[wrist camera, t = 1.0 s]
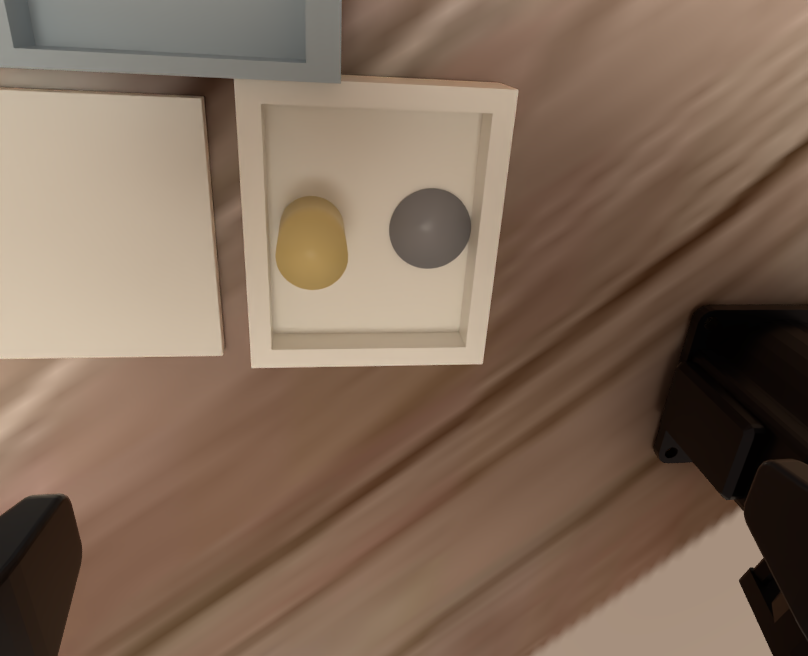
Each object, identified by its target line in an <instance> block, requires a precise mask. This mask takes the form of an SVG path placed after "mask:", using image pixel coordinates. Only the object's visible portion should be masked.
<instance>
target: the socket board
mask: <svg viewBox="0 0 808 656" xmlns="http://www.w3.org/2000/svg"><path fill="white" fill-rule="evenodd" d="M341 21H342V0H0V67H3V68H24V69H45V70H66V71H87V72H108V73H128V74H149V75H170V76H191V77H212V78H233V79H254V80H275V81H296V82H317V83H338V84H341Z"/></svg>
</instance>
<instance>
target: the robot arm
mask: <svg viewBox="0 0 808 656" xmlns="http://www.w3.org/2000/svg"><path fill="white" fill-rule="evenodd" d="M710 317H712V319H711V321H710V322H709V323H707V324H705V322H706V320H707V319H708V318H710ZM669 448H671V449H670V450H668V449H669ZM667 450H668V451H667ZM654 452H655V454H656V455H657V457H658V458H659V459H660V461H662V462H663V463H685V462H693V463H694V464H695V465H696V466H697V467H698V469H699V470H700V471H701V472H702V473H703V474H704V476H705V477H706V478H707V479H708V480H709V482H710V483H711V484H712V485H713V486H714V487H715V489H716V490H717V491H718V492H719V493H720V495H721V496H722V497H723V498H724V499H726V500H734V501H735V502H736V503H737V504H738V505H739V506H740V507H741V509H742V510H743V511H744V517H745V520H746V523H747V525H748V527H749V530H750V532H751V534H752V536H753V537H754V539H755V541H756V543H757V545H758V547H759V549H760V551H761V553H762V555H763V557H764V558H763V559H762V560H761V561H760V563H759V564H758V565H757V566H756V567H755V568H749V570H748V571H747V572H746V573H745V574H744V575H743V576H742V577H741V578H740V580H739V582H740V584H741V587H742V589H743V591H744V593H745V595H746V598H747V600H748V602H749V604H750V606H751V608H752V610H753V612H754V615H755V617H756V619H757V622H758V624H759V626H760V628H761V630H762V632H763V635H764V637H765V639H766V641H767V643H768V646H769V648H770V650H771V652H772V654H773V656H808V305H707V306H703V307H701V308H699V309H698V310H697V311H696V312H695V313H694V315H693V317H692V319H691V322H690V326H689V329H688V333H687V336H686V339H685V343H684V346H683V350H682V353H681V356H680V360H679V363H678V366H677V368H676V370H675V374H674V377H673V380H672V384H671V387H670V391H669V394H668V398H667V401H666V404H665V408H664V411H663V415H662V418H661V425H660V428H659V431H658V435H657V438H656V442H655V445H654ZM81 560H82V544H81V539H80V535H79V531H78V527H77V523H76V519H75V515H74V511H73V507H72V504H71V501H70V499H69V498H68V496H66V495H64V494H42V495H32V496H28V497H26V498H24V499H23V500H21V501H20V502H19V503H17V504H16V505H14V506H13V507H12V508H10V509H9V510H8V511H6V512H5V513H3V514H2V515H1V516H0V656H58V652H59V648H60V645H61V641H62V637H63V633H64V629H65V625H66V621H67V617H68V613H69V609H70V605H71V601H72V597H73V593H74V590H75V586H76V582H77V578H78V574H79V570H80V566H81Z"/></svg>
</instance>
